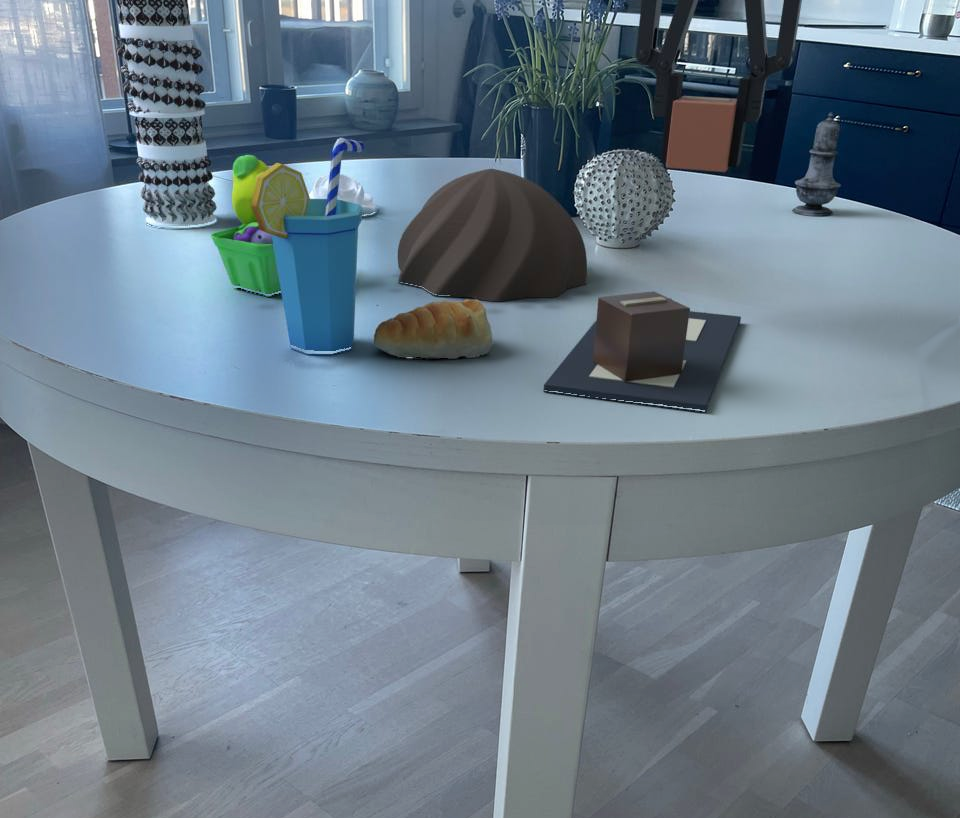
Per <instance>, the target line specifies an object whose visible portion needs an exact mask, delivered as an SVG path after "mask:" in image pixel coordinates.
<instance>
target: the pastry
mask: <svg viewBox="0 0 960 818" xmlns="http://www.w3.org/2000/svg"><path fill="white" fill-rule="evenodd" d="M487 315H488V314H487V311H486V307H485V306H484V305H483V303H482V301H480V299H477V298H474V299H469V298H466V299H464V300H463V301H447V300H445V301H444V300H443V301H432V302H429V303H426V304H424V305H423V306H417V307H415V308H414V309H412V310H409V311H406V312H401V313H400V312H399V313H398V314H397V315H396V316H394V317H393V318H392V317H390V318H388V319H386V320H384V321H382V322H380V323H379V324H378V326H377V327H375V330H374V331H375V332H374V334H373V345H374V346H375V347H376V348H378V349H380V350H381V351H383V352H385V353H387V354H389V355H392V356H395V357H397V358H399V357H402V358H404V357H414V358H405V359H406V360H414V359H417V358H416V357H421V358H420V359H422V358H430V359H440V358H448V359H447V360H450V359H453V360H454V359H458V358H459V357H465V358H467V359H471V358H479V357H481V356H484V355H487V354H489V351H490V349H491V348H492V346H493V344H494V340H493V333H492V327H491V324H490V322H489V320H488V319H489V318H488V316H487ZM480 355H481V356H480ZM474 356H476V357H474ZM399 359H401V358H399Z"/></svg>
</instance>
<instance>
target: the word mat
mask: <svg viewBox="0 0 960 818" xmlns="http://www.w3.org/2000/svg"><path fill="white" fill-rule="evenodd" d="M741 320H742V316H740V315H730V314H722V313H711V312H701V311H693V310H690V313H689V320H688V328H687V335H686V343H685V350H684V358H683V365H682V373H681V374H677V375H670V376H662V377H655V378H648V379H640V380H633V381H624V380H622V379H620V378H619V377H617V376H616V375H614V374H612V373H611V372H609V371H608V370H606V369H604V368H603V367H601V366H599V365H598V364H596V363H595V362H593V356H594V344H595V332H596V320H595V321H594V322H593V324H592V325H591V326H590V327H589V329H588V330H587V331H586V332H585V334H583V336H582V337H581V338H580V339H579V341H577V343H576V345H575V346H574V347H573V348H572V349H571V350H570V352H569V353H568V355H567V356H566V357H565V358H564V359H563V360H562V362H561V363H560V364H559V366H558V367H557V368H556V369H555V370H554V371H553V373H552V374H550V375H551V376H550V377H549V378H548V379H547V380H546V381H545V383H544V384H543V392H544V393H550V394H557V395H565V396H571V397H572V396H573V397H579V398H588V399H596V400H604V401H609V402H610V401H611V402H617V403H618V402H619V403H625V404H632V405H633V404H634V405H640V406H641V405H642V406H649V407H657V408H666V409H672V410H681V411H688V412H695V413H702V414H703V413H704V414H705V413H706V412H702V411H695V410H687V409H679V408H672V407H664V406H656V405H648V404H641V403H633V402H643V403H653V404H663V405H667V406H677V407H683V408H692V409H700V410H706V411H707V410H708V407H709V404H710V402H711V399H712V396H713V394H714V392H715V389H716V386H717V384H718V381H719V378H720V376H721V373H722V371H723V368H724V365H725V363H726V360H727V357H728V355H729V353H730V350H731V347H732V345H733V343H734V340H735V337H736V334H737V332H738V329H739V327H740V325H741ZM716 383H717V384H716ZM715 385H716V386H715ZM714 388H715V389H714ZM544 390H547V391H544ZM548 391H558V392H563V393H556V392H548ZM564 393H571V394H577V395H571V394H564ZM712 393H713V394H712ZM579 395H585V396H579ZM587 396H590V397H587ZM594 397H598V398H594ZM602 398H606V399H602ZM710 398H711V399H710ZM610 399H616V400H610ZM618 400H624V401H618ZM625 401H633V402H625ZM709 401H710V402H709ZM708 403H709V404H708ZM707 406H708V407H707ZM706 408H707V409H706Z"/></svg>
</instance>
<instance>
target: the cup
mask: <svg viewBox="0 0 960 818" xmlns="http://www.w3.org/2000/svg"><path fill="white" fill-rule="evenodd" d="M364 149H365V145H364V143H363V142H362V141H360V140H355V139H350V138H344V137H339V138H337V139H336V141H335V143H334V144H333V148H332V150H331V157H330V166H329V174H328V175H329V185H328V194H327V199H310V197H309V194H310V193H309V191H308V188H307V186H306V183H305V179H304V176H303V173H302V172H301V171H298V170H297V169H295V168H292V167H290V166H287V165H285V164H282V163H279V162H275V163H274V164H273V165H272V166H270V167H268V168H269V169H267V170H266V171H265V172H263V173H262V174H261V175H259V176H258V177H257V181H256V186H255V190H254V194H253V198H252V203H251V207H252V209H253V212H254V215H255V217H256V220H257V222H258V225H259V228H260V230H261V231H264V232H267V233H269V234H271V235H272V240H273V246H274V252H275V258H276V264H277V270H278V276H279V282H280V287H281V298H282V305H283V311H284V317H285V321H286V328H287V333H288V334H287V335H288V339H289V346H290V345H293V346H296V347H298V348H301V349H304V350H314V351H336V350H339V349H344V348H345V349H346V348H349V347H352V348H351V349H349V350H345V351H341V352H337V353H334V354H306V353H303V352H301V351H298V350H295V349H293V348H291V347H290V349H291V350H293V351H296V352H299V353H301V354H304V355H307V356H308V355H309V356H334V355H337V354H341V353H346V352H349V351H352V349H353V346H354V343H355V321H356V320H355V318H356V295H357V294H356V291H357V270H358V269H357V266H358V244H359V243H358V239H359V227H360V225H361V222H362V218H363V217H362V206H361V205H359V204H355V203H351V202H347V201H342V200H338V199H337V196H338V187H339V178H340V174H341V167H342V160H343V158H342V157H343V154H344V151H345V152H353V153H362V152H363V151H364ZM353 341H354V342H353ZM352 344H353V345H352Z"/></svg>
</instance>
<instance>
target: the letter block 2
mask: <svg viewBox="0 0 960 818" xmlns="http://www.w3.org/2000/svg"><path fill="white" fill-rule="evenodd" d="M736 102H737V98H730V97H729V98H728V97H713V96H695V95H694V96H693V95H683V96H682V95H681V98H679V99H677V100H675V101H674V102H673V109H672V117H671V126H670V135H669V144H668V153H667V162H666V163H665V168H667V169H678V170H690V171H691V170H693V171H704V172H717V173H726V172H727V171H728V170H729V168H730V167H728V160H729V154H730V147H731V140H732V133H733V126H734V119H735V112H736V105H737V104H736Z"/></svg>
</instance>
